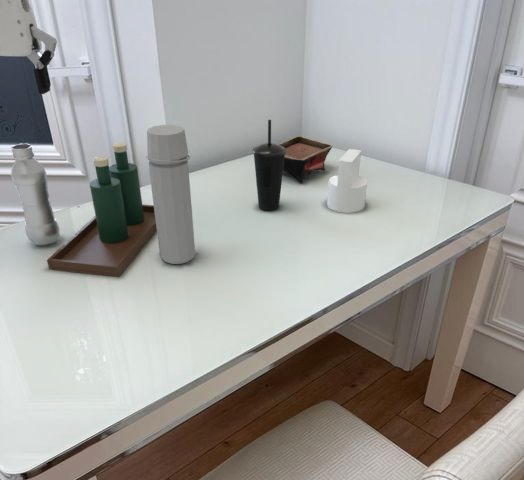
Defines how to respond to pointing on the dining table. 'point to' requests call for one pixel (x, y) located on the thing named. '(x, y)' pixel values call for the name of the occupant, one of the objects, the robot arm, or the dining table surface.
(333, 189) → the base with upright slab
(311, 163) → the rectangular planter
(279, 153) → the drinking cup
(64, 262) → the tray
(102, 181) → the green bottle
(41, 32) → the robot arm
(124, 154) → the green bottle
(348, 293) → the dining table surface
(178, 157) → the water bottle
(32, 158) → the silver metal bottle
